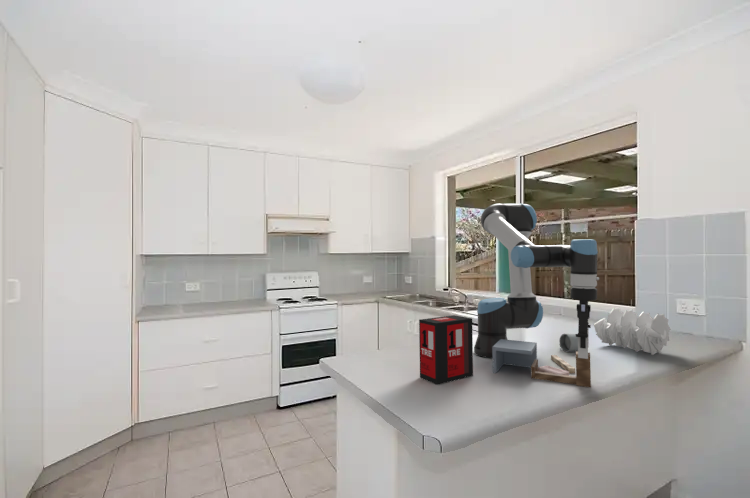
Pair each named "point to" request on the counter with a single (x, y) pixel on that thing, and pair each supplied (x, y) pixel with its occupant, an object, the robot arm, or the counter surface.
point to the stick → (563, 364)
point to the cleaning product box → (446, 348)
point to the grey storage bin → (513, 353)
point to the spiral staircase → (634, 330)
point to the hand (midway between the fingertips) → (583, 352)
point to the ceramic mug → (569, 342)
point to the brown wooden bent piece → (580, 379)
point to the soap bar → (552, 370)
